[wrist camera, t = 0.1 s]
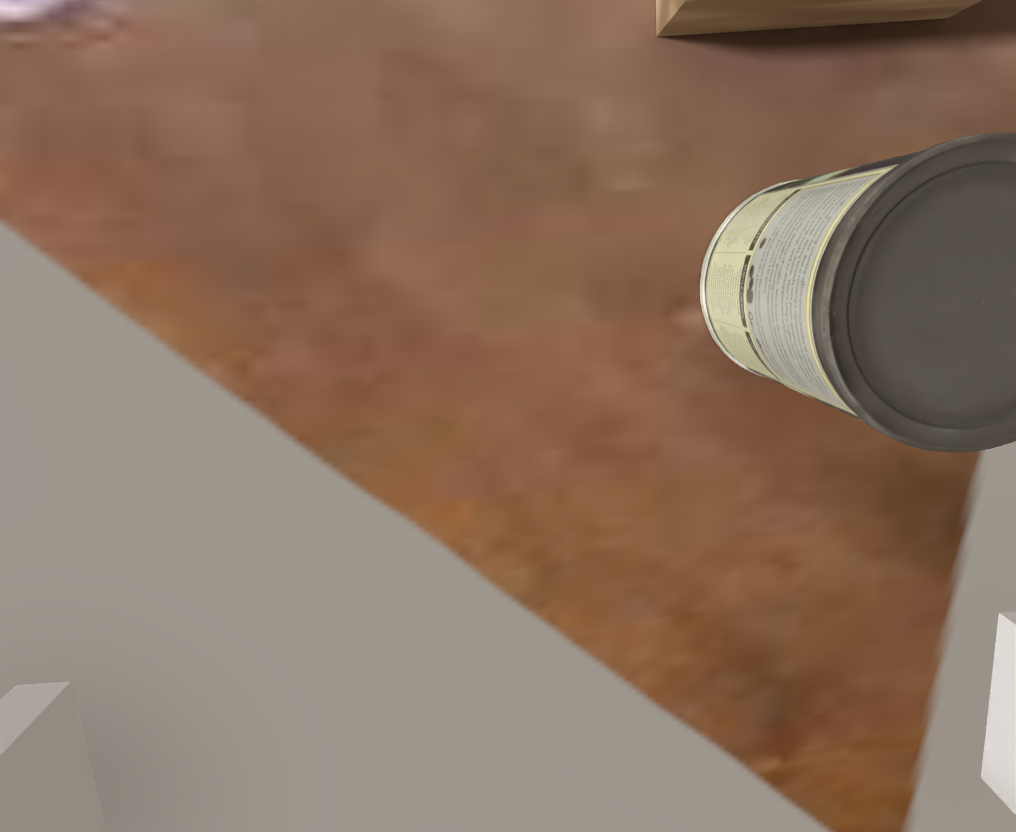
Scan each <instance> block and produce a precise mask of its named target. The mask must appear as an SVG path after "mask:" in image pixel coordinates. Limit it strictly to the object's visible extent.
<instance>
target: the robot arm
mask: <svg viewBox="0 0 1016 832" xmlns="http://www.w3.org/2000/svg"><path fill="white" fill-rule="evenodd" d="M981 778H982V779H983V780H984V781H985V782H986V783H987V784H988V785H989V787H990V788H991V789H992V790H993V791H994V792H995V793H996V794H997V795H998V796H999V797H1000V798H1001V799H1002V801H1003V802H1004V803H1005V804H1006V805H1007V806H1008V807H1009V808H1010V809H1011V810H1012V811H1013V812H1014V813H1015V815H1016V612H1002V613H999V619H998V628H997V637H996V646H995V655H994V664H993V674H992V682H991V692H990V701H989V710H988V719H987V728H986V737H985V746H984V755H983V765H982V774H981ZM0 832H107V830H106V826H105V822H104V818H103V814H102V810H101V806H100V801H99V797H98V793H97V789H96V784H95V780H94V776H93V772H92V768H91V764H90V760H89V755H88V751H87V747H86V743H85V739H84V735H83V730H82V726H81V722H80V718H79V713H78V709H77V705H76V701H75V697H74V693H73V689H72V684H71V682H56V683H42V684H29V685H16V686H15V687H14V688H13V689H11V691H9V692H8V693H7V694H6V695H5V696H4V697H3V698H2V699H1V700H0Z"/></svg>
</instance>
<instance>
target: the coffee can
mask: <svg viewBox="0 0 1016 832" xmlns="http://www.w3.org/2000/svg"><path fill="white" fill-rule="evenodd" d="M700 299H701V306H702V311H703V315H704V318H705V321H706V324H707V326H708V328H709V331H710V333H711V335H712V338H713V339H714V341H715V342H716V343H717V344H718V345H719V347H720V348H721V350H722V351H723V352H724V353H725V354H726V355H727V356H728V357H729V358H730V359H731V360H732V361H734V362H735V363H736V364H738V365H739V366H741V367H742V368H744V369H746V370H748V371H750V372H752V373H754V374H757V375H759V376H763V377H766V378H769V379H771V380H773V381H775V382H777V383H780V384H782V385H785V386H787V387H789V388H791V389H793V390H795V391H798V392H800V393H802V394H804V395H806V396H808V397H811V398H813V399H815V400H817V401H820V402H822V403H824V404H826V405H828V406H831V407H833V408H835V409H838V410H840V411H842V412H845V413H847V414H849V415H851V416H853V417H855V418H858V419H860V420H862V421H864V422H865V423H866V424H868V425H869V426H870V427H872V428H874V429H875V430H877V431H879V432H880V433H882V434H884V435H886V436H888V437H890V438H892V439H895V440H897V441H899V442H901V443H904V444H907V445H910V446H913V447H917V448H921V449H925V450H931V451H937V452H952V453H955V452H973V451H979V450H985V449H991V448H995V447H998V446H1002V445H1004V444H1008V443H1011V442H1014V441H1016V133H985V134H977V135H972V136H967V137H962V138H957V139H954V140H950V141H947V142H944V143H940V144H938V145H935V146H933V147H930V148H928V149H926V150H923V151H920V152H916V153H912V154H908V155H904V156H899V157H894V158H891V159H886V160H883V161H878V162H874V163H869V164H866V165H862V166H858V167H854V168H849V169H845V170H841V171H837V172H832V173H828V174H823V175H819V176H814V177H810V178H806V179H800V180H792V181H786V182H782V183H779V184H776V185H773V186H770V187H768V188H766V189H763V190H761V191H760V192H758V193H756V194H754V195H752V196H751V197H749V198H748V199H746V200H745V201H744V202H742V203H741V204H740V205H739V206H738V207H737V208H736V209H735V210H734V211H733V212H731V213H730V215H729V216H728V217H727V218H726V219H725V221H724V222H723V223H722V224H721V226H720V227H719V229H718V230H717V232H716V234H715V235H714V237H713V239H712V241H711V243H710V245H709V248H708V250H707V252H706V255H705V258H704V261H703V265H702V271H701V280H700Z"/></svg>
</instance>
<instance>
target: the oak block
mask: <svg viewBox="0 0 1016 832" xmlns="http://www.w3.org/2000/svg"><path fill="white" fill-rule="evenodd" d="M980 1H982V0H656V29H657V37H660V36H676V35H691V34H707V33H723V32H739V31H755V30H770V29H786V28H802V27H818V26H834V25H849V24H865V23H881V22H897V21H913V20H928V19H944V18H948V17H950V16H952V15H954V14H956V13H958V12H960V11H962V10H964V9H966V8H968V7H970V6H972V5H974V4H976V3H978V2H980Z"/></svg>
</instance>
